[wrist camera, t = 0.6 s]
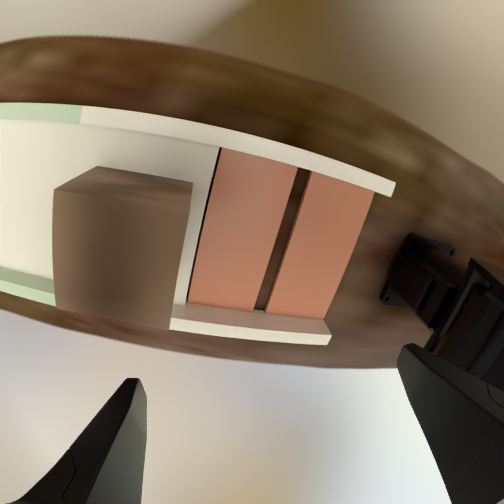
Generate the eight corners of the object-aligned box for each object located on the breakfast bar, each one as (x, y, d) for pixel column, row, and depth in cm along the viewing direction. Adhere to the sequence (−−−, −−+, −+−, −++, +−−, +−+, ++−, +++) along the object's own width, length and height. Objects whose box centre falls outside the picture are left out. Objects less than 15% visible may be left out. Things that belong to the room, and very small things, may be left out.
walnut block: (193, 182, 17) (189, 213, 12) (175, 272, 19) (169, 331, 14) (97, 165, 16) (53, 189, 10) (89, 256, 18) (55, 308, 13)
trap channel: (377, 175, 20) (395, 183, 17) (317, 326, 24) (327, 345, 22) (-25, 103, 12) (-44, 105, 10) (-26, 263, 17) (-40, 277, 15)
